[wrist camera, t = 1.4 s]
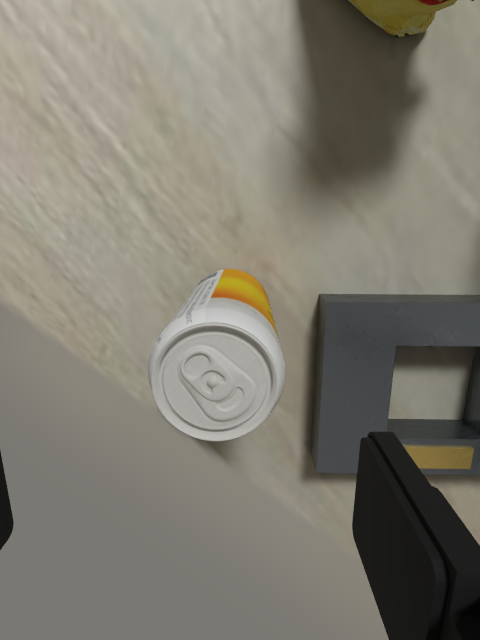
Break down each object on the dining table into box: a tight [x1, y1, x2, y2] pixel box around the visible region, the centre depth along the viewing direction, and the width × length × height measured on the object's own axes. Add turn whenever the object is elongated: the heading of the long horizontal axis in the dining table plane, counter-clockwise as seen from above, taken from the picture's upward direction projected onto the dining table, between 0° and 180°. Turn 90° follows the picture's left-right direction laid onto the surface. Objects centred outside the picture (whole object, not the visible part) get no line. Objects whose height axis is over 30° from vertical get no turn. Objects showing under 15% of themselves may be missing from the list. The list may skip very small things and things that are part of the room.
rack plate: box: [311, 294, 480, 475], centre depth 30 cm, size 18×14×3 cm
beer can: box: [148, 269, 285, 441], centre depth 23 cm, size 6×6×15 cm
